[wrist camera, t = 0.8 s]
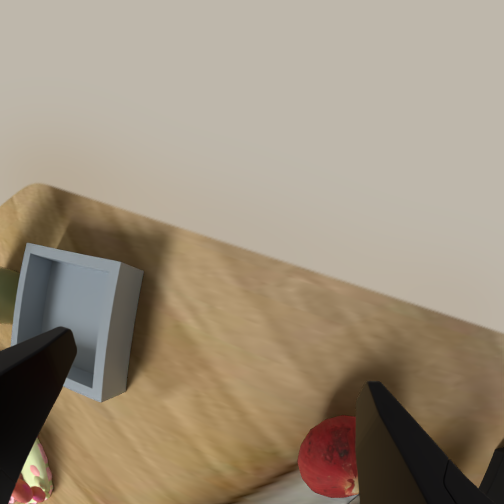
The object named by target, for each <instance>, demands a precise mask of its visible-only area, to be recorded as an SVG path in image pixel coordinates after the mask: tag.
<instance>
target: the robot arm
mask: <svg viewBox="0 0 504 504" xmlns="http://www.w3.org/2000/svg"><path fill="white" fill-rule="evenodd" d="M76 355H77V346H76V343H75V339H74V336H73V332H72V331H71V329H69V328H66V327H63V326H59V327H56V328H54V329H52V330H49V331H47V332H44V333H42V334H40V335H37V336H35V337H32V338H30V339H28V340H25V341H23V342H21V343H18V344H16V345H13V346H11V347H9V348H6V349H4V350H2V351H0V504H8V503H9V501H10V498H11V496H12V493H13V491H14V488H15V486H16V483H17V480H18V478H19V476H20V473H21V471H22V469H23V467H24V464H25V462H26V460H27V458H28V455H29V453H30V451H31V449H32V447H33V445H34V443H35V441H36V439H37V436H38V434H39V432H40V430H41V428H42V426H43V424H44V422H45V420H46V418H47V417H48V415H49V413H50V411H51V409H52V407H53V405H54V403H55V401H56V399H57V398H58V396H59V394H60V392H61V390H62V387H63V385H64V383H65V380H66V378H67V376H68V373H69V371H70V369H71V366H72V364H73V362H74V360H75V357H76ZM355 450H356V462H357V473H358V485H359V499H360V504H495V503H494V502H493V501H492V500H491V499H490V498H489V497H487V496H486V495H485V494H484V493H483V492H482V491H481V490H480V489H478V488H477V487H476V486H475V485H474V484H473V483H472V482H471V481H470V480H469V479H468V478H467V477H466V476H465V475H464V474H463V473H462V472H461V471H460V470H459V469H458V468H457V467H456V465H455V464H454V463H453V462H452V461H451V460H450V459H448V457H447V455H446V454H445V453H444V452H443V451H442V450H441V449H440V448H439V446H438V445H437V444H436V443H435V442H434V441H433V440H432V439H431V437H430V436H429V435H428V434H427V433H426V432H425V431H424V430H423V429H422V427H421V426H420V425H419V424H418V423H417V422H416V421H415V420H414V419H413V417H412V416H411V415H410V414H409V413H408V412H407V411H406V410H405V408H404V407H403V406H402V405H401V404H400V403H399V402H398V401H397V400H396V398H395V397H394V396H393V395H392V394H391V393H390V392H389V391H388V390H387V389H386V387H385V386H384V385H383V384H382V383H381V382H379V381H367V382H365V384H364V386H363V388H362V390H361V392H360V394H359V396H358V398H357V401H356V441H355Z"/></svg>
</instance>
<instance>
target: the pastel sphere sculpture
mask: <svg viewBox="0 0 504 504" xmlns="http://www.w3.org/2000/svg"><path fill="white" fill-rule="evenodd" d="M51 479H52V473H51V471H50V469H49V467H48V459H47V457H46V454H45V452H44V450H43V447H42V445H41V444H40V442H39V440H38V436H37V439H36V441H35V443H34V445H33V447H32V449H31V451H30V453H29V455H28V458H27V460H26V462H25V464H24V467H23V469H22V471H21V473H20V476H19V478H18V480H17V483H16V486H15V488H14V491H13V493H12V496H11V498H10V501H9V503H8V504H11V503H15V502H16V501H19V502H21V503H26V504H28V503H33V504H36V503H38V502H43V501H44V500H47V499H48V498H49V497H50V495H51V492H52V490H53V484H52V481H51Z"/></svg>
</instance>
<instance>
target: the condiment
mask: <svg viewBox="0 0 504 504" xmlns="http://www.w3.org/2000/svg"><path fill="white" fill-rule="evenodd" d="M349 504H360V499H359V495H358V496H357V497H356V498H355V499H354V500H353V501H351V502H350V503H349Z"/></svg>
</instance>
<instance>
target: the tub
mask: <svg viewBox="0 0 504 504" xmlns="http://www.w3.org/2000/svg"><path fill="white" fill-rule="evenodd" d="M143 273H144V271H142V270H140V269H137V268H135V267H132V266H130V265H127V264H125V263H123V262H119V261H114V260H109V259H103V258H98V257H93V256H88V255H83V254H79V253H74V252H69V251H64V250H59V249H54V248H50V247H45V246H40V245H36V244H31V243H27V244H26V248H25V253H24V257H23V262H22V267H21V272H20V277H19V283H18V289H17V295H16V302H15V309H14V318H13V327H12V338H11V346H13V345H16V344H18V343H21V342H23V341H25V340H28V339H30V338H32V337H35V336H37V335H40V334H42V333H44V332H47V331H49V330H52V329H54V328H56V327H59V326H63V327H66V328H69V329H71V331H72V332H73V336H74V339H75V343H76V346H77V355H76V357H75V360H74V362H73V364H72V366H71V369H70V371H69V373H68V376H67V378H66V380H65V383H64V385H63V386H64V387H66V388H68V389H70V390H73V391H75V392H77V393H79V394H82V395H84V396H86V397H89V398H91V399H94V400H96V401H98V402H103V401H106V400H108V399H110V398H113V397H115V396H117V395H120V394H122V393H124V392H126V383H127V374H128V366H129V358H130V350H131V343H132V336H133V330H134V323H135V317H136V311H137V305H138V300H139V294H140V289H141V283H142V278H143Z"/></svg>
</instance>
